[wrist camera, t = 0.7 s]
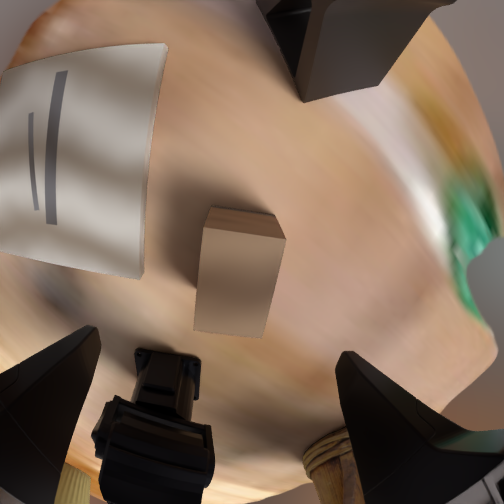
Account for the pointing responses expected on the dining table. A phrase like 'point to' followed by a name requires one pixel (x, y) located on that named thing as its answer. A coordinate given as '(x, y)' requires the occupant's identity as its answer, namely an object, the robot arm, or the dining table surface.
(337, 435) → the tankard
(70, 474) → the potted cactus
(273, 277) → the block
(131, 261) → the board
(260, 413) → the dining table surface
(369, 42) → the phone stand
